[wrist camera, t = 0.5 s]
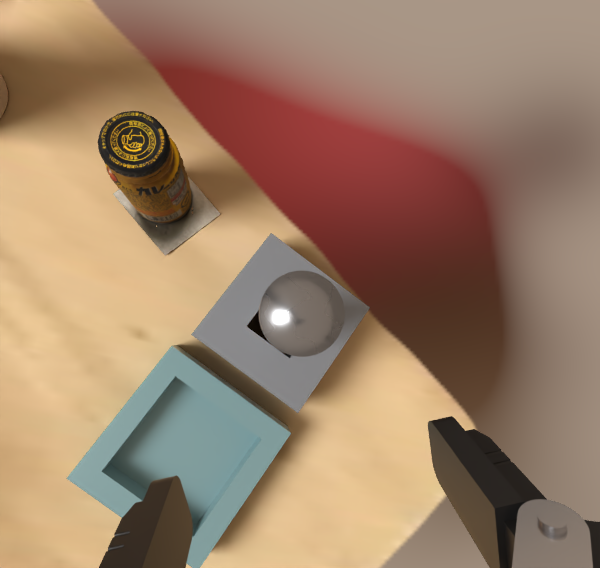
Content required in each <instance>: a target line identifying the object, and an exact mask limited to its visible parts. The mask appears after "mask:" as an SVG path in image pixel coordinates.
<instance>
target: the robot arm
mask: <svg viewBox="0 0 600 568" xmlns="http://www.w3.org/2000/svg"><path fill="white" fill-rule="evenodd" d="M7 101H8V90H7V86H6V82H5V81H4V79H3V77H2V75H1V74H0V118H1V116H2V115H3V113H4V111H5V109H6V106H7ZM428 431H429V438H430V446H431V454H432V462H433V467H434V470H435V474H436V476H437V479H438V481H439V483H440V485H441V487H442V488H443V490H444V492H445V493H446V495H447V497H448V498H449V500H450V502H451V504H452V505H453V507H454V509H455V510H456V512H457V513H458V515H459V517H460V519H461V520H462V522H463V524H464V525H465V527H466V528H467V530H468V532H469V534H470V535H471V537H472V539H473V540H474V542H475V543H476V545H477V547H478V549H479V550H480V552H481V554H482V555H483V557H484V559H485V560H486V562H487V564H488V565H489V567H490V568H600V522H593V521H587V520H584V519H583V518H582V517H581V516H580V515H579V514H578V513H576V512H575V511H574V510H572V509H571V508H569V507H567V506H565V505H563V504H561V503H558V502H555V501H551V500H547V499H546V498H545V497H544V496H543V495H542V494H541V492H540V491H539V490H538V489H537V488H536V487H535V486H534V485H533V484H532V483H531V482H530V481H529V480H528V478H527V477H526V476H525V475H524V474H523V473H522V472H521V471H520V470H519V469H518V468H517V466H516V465H515V464H514V463H512V462H511V461H510V459H509V458H508V457H507V456H506V455H505V454H504V453H503V452H502V451H501V449H500V448H499V447H498V446H497V445H496V444H495V443H494V442H493V441H492V439H490V438H489V437H488V436H486V435H484V434H482V433H480V432H478V431H477V430H475V429H473V430H468V431H465V430H464V429H463V428H462V427H461V425H460V424H459V423H458V422H457V421H456V419H455V418H454V417H452V416H451V417H446V418H442V419H437V420H433V421H429V422H428ZM114 535H115V537H114V538H113V539H112V541H111V543H110V545H109V547H108V551H107V552H106V553H105V556H104V558H103V560H102V562H101V564H100V566H99V568H185V567H186V563H187V558H188V554H189V550H190V545H191V541H192V535H193V523H192V517H191V513H190V510H189V506H188V503H187V500H186V497H185V493H184V490H183V487H182V484H181V480H180V478H179V477H178V476H172V477H168V478H163V479H158V480H154V481H152V482H151V483H150V485H149V488H148V490H147V492H146V495H145V497H144V499H143V501H141V502H136V503H135V504H134V505H133V506H132V507H131V508H130V509H129V511H128V512H127V513H126V514H125V515H124V516H123V518H122V519H121V521H120V524H119V526H118V528H117V530H116V532H115V534H114Z"/></svg>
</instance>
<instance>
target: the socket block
mask: <svg viewBox="0 0 600 568" xmlns="http://www.w3.org/2000/svg"><path fill="white" fill-rule="evenodd" d="M301 270H303V271H311V272H314V273H317V274H320V275H322V276H323V277H325V278H326V279H328V280H329V281H330V282H331V283H332V284H333V285H334V286H335V287H336V289H337V290H338V292H339V293H340V295H341V298H342V300H343V304H344V310H345V319H344V324H343V328H342V330H341V333H340V335H339V336H338V338H337V339H336V341H335V342H334V343H333V344H332V345H331V346H330V347H329V348H328V349H326V350H325V351H323V352H321V353H319V354H316V355H313V356H307V357H297V356H292V355H289V354H285V355H284V354H283V353H282V352H280V351H279V350H278V349H276V348H275V347H274V346H272V345H271V344H270V343H268V342H267V341H266V340H264V339H263V338H262V337H260V336H259V335H257V334H256V333H255V332H253V331H252V330H251V329H249V328H248V327H247V326H248V324H249V323H250V322H251V320H252V319H253V318H254V316H255V315H256V314H257V312H258V311H259V307H260V302H261V299H262V297H263V295H264V293H265V291H266V290H267V288H268V287H269V286H270V284H271V283H272V282H273V281H275V280H276V279H277V278H279V277H280V276H282V275H284V274H286V273H289V272H293V271H301ZM369 308H370V307H368V306H367V305H366V304H364V303H363V302H362V301H361V300H359V299H358V298H357V297H355V296H354V295H353V294H351V293H350V292H349V291H347V290H346V289H345V288H343V287H342V286H341V285H339V284H338V283H337V282H335V281H334V280H333V279H331V278H330V277H329V276H327V275H326V274H325V273H323V272H322V271H321V270H319V269H318V268H317V267H316V266H314V265H313V264H312V263H310V262H309V261H308V260H306V259H305V258H304V257H302V256H301V255H300V254H298V253H297V252H296V251H294V250H293V249H292V248H290V247H289V246H288V245H286V244H285V243H284V242H282V241H281V240H280V239H278V238H277V237H276V236H274V235H273V234H272V233H271V234H270V235H269V236H268V238H267V239H266V240H265V241H264V243H263V244H262V245H261V247H260V248H259V249H258V250H257V252H256V253H255V254H254V255H253V257H252V258H251V259H250V261H249V262H248V263H247V264H246V266H245V267H244V268H243V269H242V271H241V272H240V273H239V275H238V276H237V277H236V278H235V280H234V281H233V282H232V283H231V285H230V286H229V287H228V289H227V290H226V291H225V292H224V294H223V295H222V296H221V297H220V299H219V300H218V301H217V303H216V304H215V305H214V306H213V308H212V309H211V310H210V311H209V313H208V314H207V315H206V317H205V318H204V319H203V320H202V322H201V323H200V324H199V325H198V327H197V328H196V329H195V331H194V332H193V333H192V334H191V335H193V336H194V337H195V338H197V339H198V340H199V341H201V342H202V343H203V344H205V345H206V346H207V347H209V348H210V349H212V350H213V351H214V352H216V353H217V354H218V355H220V356H221V357H222V358H224V359H225V360H227V361H228V362H229V363H231V364H232V365H233V366H235V367H236V368H237V369H239V370H240V371H241V372H243V373H244V374H246V375H247V376H248V377H250V378H251V379H252V380H254V381H255V382H256V383H258V384H259V385H260V386H262V387H263V388H265V389H266V390H267V391H269V392H270V393H271V394H273V395H274V396H275V397H277V398H278V399H279V400H281V401H282V402H284V403H285V404H286V405H288V406H289V407H290V408H292V409H293V410H294V411H296V412H297V413H298V412H299V411H300V409H301V408H302V407H303V405H304V404H305V402H306V401H307V399H308V398H309V396H310V395H311V393H312V392H313V390H314V389H315V387H316V386H317V385H318V383H319V382H320V380H321V379H322V377H323V376H324V374H325V373H326V371H327V370H328V368H329V367H330V366H331V364H332V363H333V361H334V360H335V358H336V357H337V355H338V354H339V352H340V351H341V349H342V348H343V346H344V345H345V344H346V342H347V341H348V339H349V338H350V336H351V335H352V333H353V332H354V330H355V329H356V327H357V326H358V325H359V323H360V322H361V320H362V319H363V317H364V316H365V314H366V313H367V311H368V310H369Z"/></svg>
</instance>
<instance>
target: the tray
mask: <svg viewBox="0 0 600 568" xmlns="http://www.w3.org/2000/svg"><path fill="white" fill-rule="evenodd" d="M290 434H291V432H290V430H289V428H288V426H287V425H285V424H284V423H283V422H281V421H280V420H278V419H277V418H276V417H274V416H273V415H272V414H270V413H269V412H268V411H266V410H265V409H263V408H262V407H261V406H259V405H258V404H257V403H255V402H254V401H253V400H251V399H250V398H248V397H247V396H246V395H244V394H243V393H242V392H240V391H239V390H238V389H236V388H235V387H233V386H232V385H231V384H229V383H228V382H227V381H225V380H224V379H223V378H221V377H220V376H218V375H217V374H216V373H214V372H213V371H212V370H210V369H209V368H208V367H206V366H205V365H203V364H202V363H201V362H199V361H198V360H197V359H195V358H194V357H193V356H191V355H190V354H188V353H187V352H186V351H184V350H183V349H182V348H180V347H179V346H178V345H174V346H171V347H170V349H169V350H168V351H167V353H166V354H165V355H164V356H163V358H162V359H161V360H160V361H159V363H158V364H157V365H156V366H155V368H154V369H153V370H152V371H151V373H150V374H149V375H148V376H147V378H146V379H145V380H144V382H143V383H142V384H141V385H140V387H139V388H138V389H137V390H136V392H135V393H134V394H133V395H132V397H131V398H130V399H129V400H128V402H127V403H126V404H125V405H124V407H123V408H122V409H121V411H120V412H119V413H118V414H117V416H116V417H115V418H114V419H113V421H112V422H111V423H110V424H109V426H108V427H107V428H106V429H105V431H104V432H103V433H102V434H101V436H100V437H99V438H98V440H97V441H96V442H95V443H94V445H93V446H92V447H91V448H90V450H89V451H88V452H87V453H86V455H85V456H84V457H83V458H82V460H81V461H80V462H79V464H78V465H77V466H76V467H75V469H74V470H73V471H72V472H71V474H70V475H69V476H68V477H67V479H68V480H70V481H71V482H72V483H74V484H75V485H77V486H78V487H79V488H81V489H82V490H84V491H85V492H86V493H88V494H89V495H91V496H92V497H94V498H95V499H96V500H98V501H99V502H101V503H102V504H103V505H105V506H106V507H108V508H109V509H110V510H112V511H113V512H115V513H116V514H118V515H119V516H120V517H122V518H123V516H124V515H125V514H126V513H127V512H128V511H129V509H130V508H131V507H132V506H133V505H134V504H135V503H136V502H141V501H143V499H144V497H145V495H146V492H147V490H148V488H149V485H150V483H151V482H152V481H154V480H158V479H163V478H168V477H172V476H178V477H179V478H180V480H181V484H182V487H183V490H184V493H185V497H186V500H187V503H188V506H189V510H190V513H191V517H192V523H193V535H192V541H191V545H190V550H189V554H188V558H187V564H188V565H189V566H191V567H192V568H200V567H201V565H202V564H203V562H204V561H205V559H206V558H207V556H208V555H209V553H210V552H211V551H212V549H213V548H214V546H215V545H216V543H217V542H218V540H219V539H220V537H221V536H222V534H223V533H224V531H225V530H226V528H227V527H228V525H229V524H230V523H231V521H232V520H233V518H234V517H235V515H236V514H237V512H238V511H239V509H240V508H241V506H242V505H243V503H244V502H245V500H246V499H247V497H248V496H249V495H250V493H251V492H252V490H253V489H254V487H255V486H256V484H257V483H258V481H259V480H260V478H261V477H262V475H263V474H264V472H265V471H266V469H267V468H268V467H269V465H270V464H271V462H272V461H273V459H274V458H275V456H276V455H277V453H278V452H279V450H280V449H281V447H282V446H283V444H284V443H285V441H286V440H287V439H288V437H289V436H290Z"/></svg>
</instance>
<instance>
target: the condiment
mask: <svg viewBox="0 0 600 568" xmlns="http://www.w3.org/2000/svg"><path fill="white" fill-rule="evenodd" d="M98 145H99V146H98V148H99V152H100V154H101V157H102V159H103V160H104V162H105V164H106V169H107V171H108V174H109V175H110V177H111V179H112V180H113V181H114V183H115V184H116V185H117V186H118V188H119V190H118V191H116V192H115V193H114V194H113V195H114V196H115V197H116V198H117V199H118V201H119V202H120V203H121V204H122V205H123V206H124V208H125V209H126V210H127V211H128V212H129V213H130V215H131V216H132V217H133V218H134V219H135V221H136V222H137V223H138V224H139V225H140V226H141V228H142V229H143V230H144V231H145V232H146V234H147V235H148V236H149V237H150V238H151V239H152V241H153V242H154V243H155V244H156V245H157V246H158V248H159V249H160V250H161V251H162V252H163V254H164V255H166V254H168V253H169V252H170V251H172V250H174V249H175V248H176V247H178V246H179V245H180V244H182V243H183V242H184V241H186V240H187V239H188V238H190V237H191V236H192V235H194V234H195V233H196V232H198V231H199V230H200V229H202V228H203V227H204V226H205V225H207V224H208V223H210V222H211V221H212V220H213V219H215V218H216V217H217V216H219V215H220V213H219V212H218V210H217V209H216V208H215V207H214V206H213V205H212V203H211V202H210V201H209V200H208V199H207V198H206V196H205V195H204V194H203V193H202V192H201V191H200V189H199V188H198V187H197V186H196V185H195V184H194V182H193V181H192V180H191V179H190V178H189V177H188V175H187V173H186V171H185V168H184V166H183V160H182V158H181V156H180V153H179V151H178V148H177V146H176V144H175V143H174V142H173V140H172V139H171V138H170V137H169V135H168V134H167V132H166V129H164V127H163V126H162V125H161V124H160V123H159V122H158V121H157V120H156V119H155V118H154V117H152V116H149V115H146V114H145V113H143V112H139V111H130V112H123V113H120V114H117V115H116V116H114V117H112V118H111V119H109V120H107V121H106V123H105V125H104V126H103V127H102V129H101V131H100V135H99V139H98ZM192 207H193V210H192ZM192 211H193V214H192ZM156 225H157V227H156Z"/></svg>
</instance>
